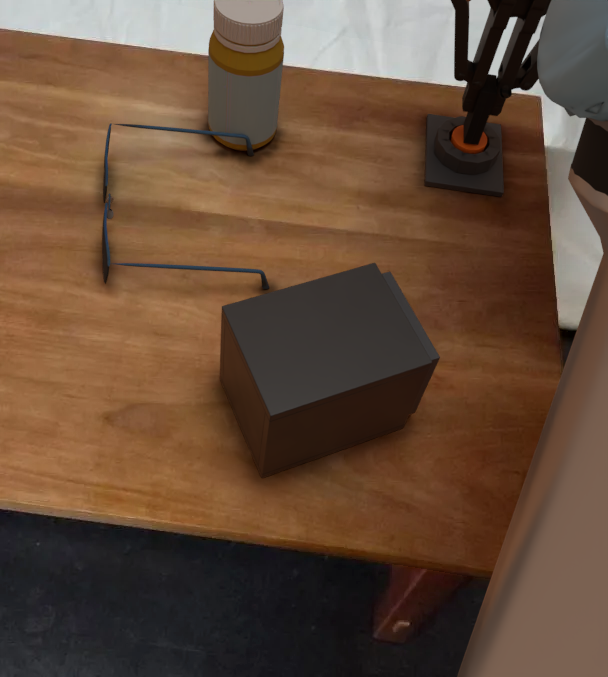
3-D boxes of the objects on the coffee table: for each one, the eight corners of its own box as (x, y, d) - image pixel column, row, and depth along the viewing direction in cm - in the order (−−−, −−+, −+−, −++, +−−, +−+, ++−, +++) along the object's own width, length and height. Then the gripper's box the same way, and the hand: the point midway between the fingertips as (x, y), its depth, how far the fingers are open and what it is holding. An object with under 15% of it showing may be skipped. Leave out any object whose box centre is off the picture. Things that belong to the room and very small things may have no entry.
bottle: (260, 162, 83) (270, 36, 70) (197, 140, 83) (195, 11, 71) (286, 119, 86) (300, -8, 74) (225, 98, 87) (228, -32, 75)
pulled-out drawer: (383, 328, 72) (403, 266, 65) (427, 408, 68) (454, 352, 61) (248, 370, 68) (253, 310, 61) (286, 457, 65) (297, 404, 57)
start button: (482, 164, 84) (487, 152, 83) (448, 159, 84) (452, 146, 83) (482, 139, 86) (487, 127, 85) (448, 134, 86) (452, 122, 85)
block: (502, 197, 83) (509, 180, 81) (424, 185, 83) (429, 168, 81) (499, 129, 89) (506, 111, 87) (426, 118, 89) (431, 99, 87)
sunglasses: (103, 154, 81) (105, 115, 77) (250, 166, 85) (259, 130, 81) (100, 297, 72) (102, 261, 68) (265, 303, 76) (276, 270, 72)
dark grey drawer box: (354, 336, 72) (375, 261, 64) (403, 428, 68) (433, 362, 59) (219, 378, 69) (221, 305, 60) (261, 478, 64) (270, 416, 55)
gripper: (629, -106, 66) (531, 118, 86) (469, -131, 66) (408, 100, 85) (640, -52, 62) (535, 170, 82) (470, -79, 62) (406, 151, 81)
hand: (470, 134), depth 84 cm, fingers closed
